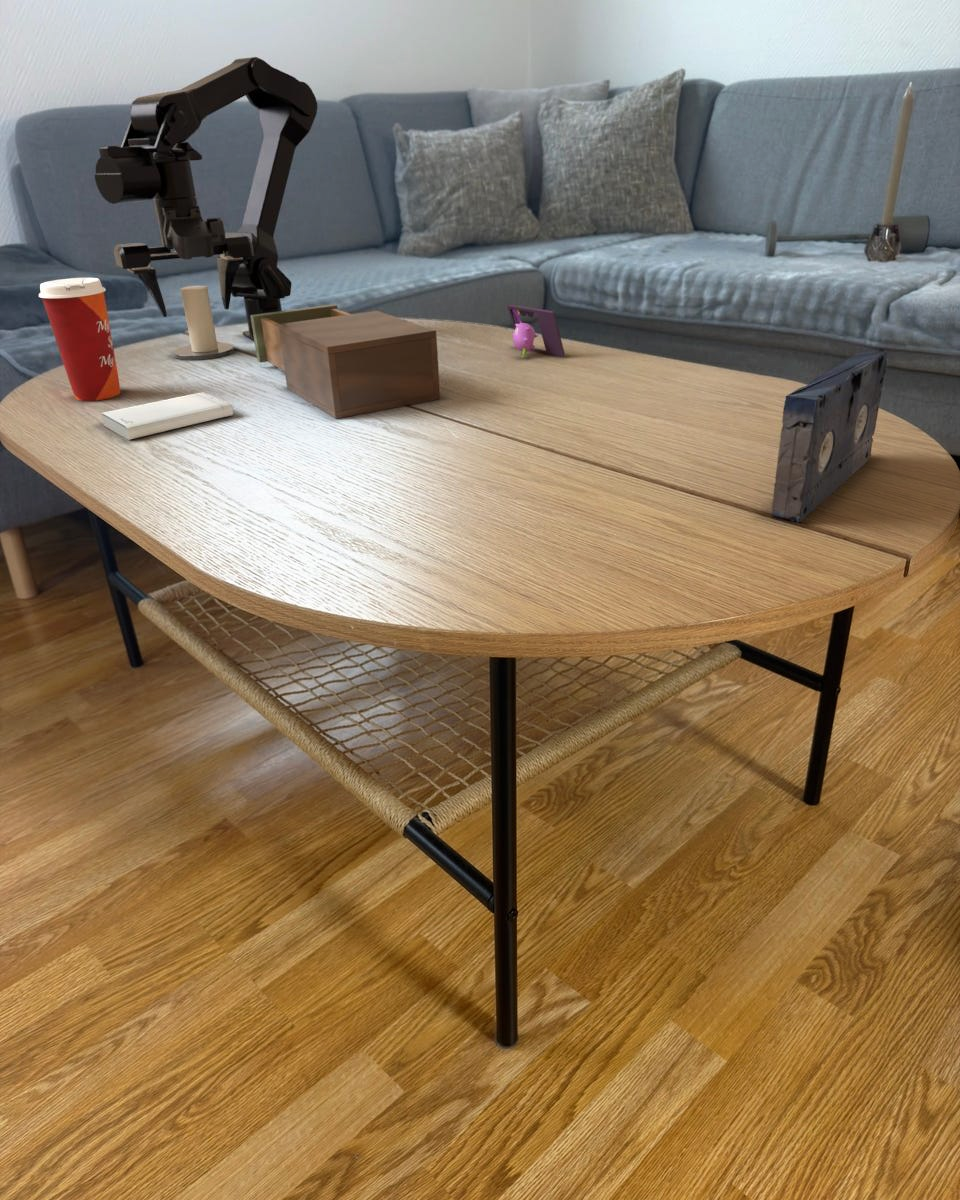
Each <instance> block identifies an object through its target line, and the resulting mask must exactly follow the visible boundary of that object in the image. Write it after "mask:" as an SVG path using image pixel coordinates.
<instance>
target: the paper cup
mask: <svg viewBox="0 0 960 1200" xmlns="http://www.w3.org/2000/svg"><path fill="white" fill-rule="evenodd" d="M39 289H40V291H39V293H38V298H41V299H42V301H43V306H44V308H45V311H46V314H47V317H48V320H49V324H50V327H51V330H52V333H53V336H54V340H55V343H56V345H57V348H58V351H59V354H60V357H61V360H62V363H63V367H64V370H65V373H66V375H67V378H68V383H69V385H70V387H71V390H72V393H73V396H74V398H75V400H77V401H79V402H80V401H82V402H93V401H94V402H95V401H102V400H108V399H112V398H114V397H117V396H119V395H120V394H121V385H120V379H119V373H118V366H117V361H116V355H115V349H114V343H113V337H112V331H111V326H110V320H109V316H108V315H109V314H108V309H107V304H106V303H107V302H106V297H105V292H106V291H107V289H106V288H105V287H104V286H103V284H102V282H101V280H100V278H97V277H71V278H62V279H61V278H60V279H54V280H49V281H45V282H42V283H40V285H39Z"/></svg>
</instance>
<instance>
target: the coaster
mask: <svg viewBox="0 0 960 1200" xmlns="http://www.w3.org/2000/svg"><path fill="white" fill-rule="evenodd" d="M217 345H218V349H217V350H215V351H211V352H203V353H197V352H193V351H192V347H191V344H189V345H184V346H180V347H178V348H176V349H174V350H173V351H172V356H173V358H175V359H178V360H183V361H184V360H185V361H200V360H209V359H217V358H222V357H226V356H229V355H230V354H233V353H234V352H235V346H234V345H233V344H230V343H227V342H217Z"/></svg>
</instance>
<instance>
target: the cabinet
mask: <svg viewBox="0 0 960 1200" xmlns="http://www.w3.org/2000/svg"><path fill="white" fill-rule="evenodd" d="M278 327H279V335H280V342H281V349H282V356H283V363H284V370H285V371H284V375H285V383H286V389H287V390H288V391H290V392H292V393H293V394H296V396H298V397H300V398H302V399H303V400H305V401H307V403H310V404H311V405H313V406H314V407H316V408H318V409H320V410H322V412H324V413H326V414H327V415H329V416H330V417H332V418H334V419H336V420H337V419H341V418H342V419H343V418H346V417H352V416H358V415H362V414H369V413H373V412H379V411H383V410H389V409H394V408H399V407H404V406H410V405H415V404H421V403H425V402H430V401H436V400H441V389H440V388H441V387H440V371H439V355H438V339H437V330H436V329H433V328H430V327H426V326H424V325H421V324H418V323H415V322H412V321H409V320H406V319H403V318H400V317H398V316H395V315H391V314H388V313H385V312H382V311H380V310H373V311H364V312H358V313H350V314H349V315H342V316H335V317H328V318H320V319H313V320H306V321H298V322H291V323H284V324H278Z"/></svg>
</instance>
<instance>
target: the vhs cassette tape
mask: <svg viewBox="0 0 960 1200" xmlns="http://www.w3.org/2000/svg"><path fill="white" fill-rule="evenodd" d="M887 359H888V352H886V351H879V350H867V349H861V350H860V351H859V352H858V353H855V354H853V355H852V356H850V357H848V358H847V359H845V360H843V361H842V362H840V363H839V364H837V365H835V366H833V367H831V368H829V369H827V370H826V371H825V372H823V373H822V374H821V375H819V376H816V377H814V378H813V380H811V381H810V382H809V383H808V384H807V385H803V386H801V387H799V388H797V389H795V390H794V391H792V392H790V393H789V394H787V395H785V400H784V404H783V410H782V419H781V424H782V427H781V430H780V434H779V436H780V437H779V443H778V453H777V463H776V470H775V477H774V479H775V482H774V484H773V485H774V487H773V495H772V496H773V497H772V503H771V512H770V515H771V516H772V517H776V518H781V519H785V520H789V521H792V522H797V523H802V521H803V520H804V519H806V518H807V517H808V516H809V514H811V513H812V512H814V511H815V509H817V508H818V507H819V506H820V505H821V504H822V503H824V501H826V500H827V499H828V498H829V497H830V496H831V495H832V494H833V493H835V491H836V490H837V489H838V488H839V487H841V486H842V485H843V484H844V483H845V482H846V481H847V480H849V478H851V477H852V476H853V475H854V474H855V473H856V472H857V471H858V470H859V469H861V468H862V467H863V466H864V465H865V464H866V463H867V462H868V461H869V460H870V458H871V455H872V447H873V442H874V439H873V438H874V437H873V436H874V435H875V431H876V426H877V420H878V415H879V408H880V402H881V397H882V388H884V386H883V385H884V380H885V376H886V374H887V362H888V360H887Z"/></svg>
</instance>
